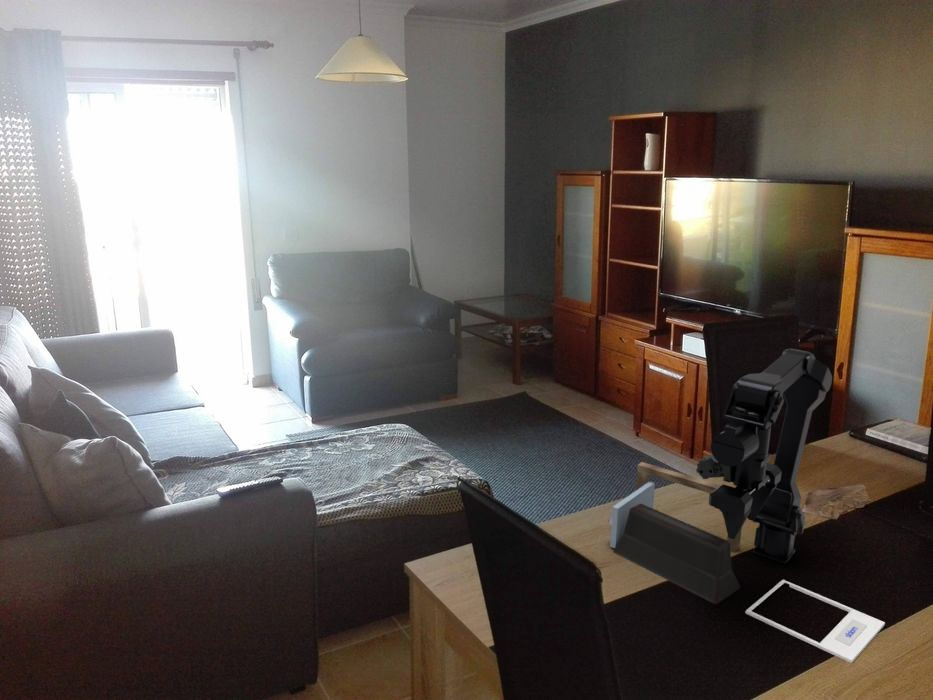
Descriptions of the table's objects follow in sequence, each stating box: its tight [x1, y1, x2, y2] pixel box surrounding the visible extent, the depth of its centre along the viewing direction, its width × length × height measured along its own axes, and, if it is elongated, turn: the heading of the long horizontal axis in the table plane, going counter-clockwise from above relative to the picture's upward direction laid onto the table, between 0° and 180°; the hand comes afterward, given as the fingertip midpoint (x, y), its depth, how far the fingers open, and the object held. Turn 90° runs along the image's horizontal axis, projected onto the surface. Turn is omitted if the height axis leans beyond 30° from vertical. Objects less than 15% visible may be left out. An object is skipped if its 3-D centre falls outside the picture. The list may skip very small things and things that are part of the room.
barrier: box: [612, 504, 741, 605], centre depth 145 cm, size 24×9×10 cm, turn 40°
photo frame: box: [744, 579, 886, 664], centre depth 131 cm, size 15×1×18 cm
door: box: [607, 480, 656, 549], centre depth 158 cm, size 16×3×9 cm, turn 139°
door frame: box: [635, 461, 742, 553], centre depth 159 cm, size 23×2×12 cm, turn 50°
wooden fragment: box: [802, 484, 872, 520], centre depth 175 cm, size 26×11×1 cm, turn 123°
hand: (741, 528), depth 135 cm, fingers open, 9 cm apart
